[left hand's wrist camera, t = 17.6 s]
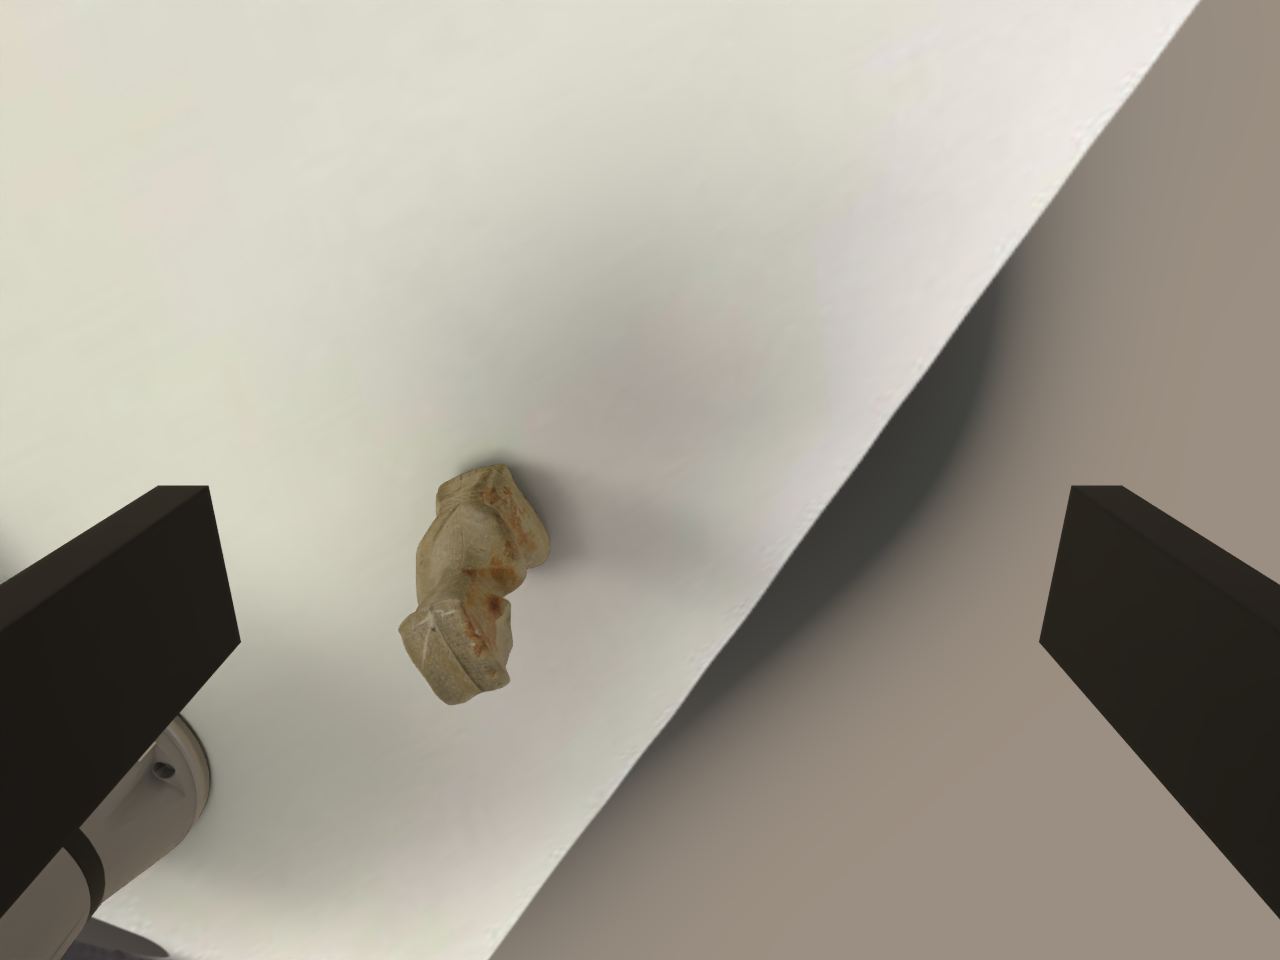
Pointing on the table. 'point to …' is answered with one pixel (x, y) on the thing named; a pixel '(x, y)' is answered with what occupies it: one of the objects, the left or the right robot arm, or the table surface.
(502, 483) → the sculpture
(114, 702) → the left robot arm
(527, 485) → the table surface
